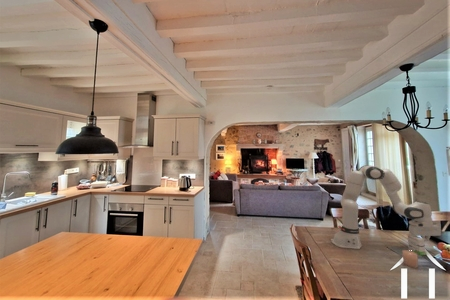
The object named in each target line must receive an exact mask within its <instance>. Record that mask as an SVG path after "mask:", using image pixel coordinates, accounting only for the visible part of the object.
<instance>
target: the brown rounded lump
mask: <svg viewBox="0 0 450 300" xmlns="http://www.w3.org/2000/svg"><path fill="white" fill-rule="evenodd" d="M402 252H403V256H402V260H403V261H402V262H403V264H404V265H405V266H407V267H410V268H415V269H416V268H419V263H418V259H419V258H417V253H415V252H413V251H411V250H410V251H409V249H408V250H403V251H402Z"/></svg>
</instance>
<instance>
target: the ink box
mask: <svg viewBox="0 0 450 300" xmlns="http://www.w3.org/2000/svg"><path fill="white" fill-rule="evenodd" d="M425 242H426V241H424V239H422V237H421V236H420V237H419V236H414V235H411V234H407V244H408V245H407V246H408V247H407V248H408V250H410V251H411V250H412V252H415V253H416V254H418V255H420V256H427V251H426V243H425Z"/></svg>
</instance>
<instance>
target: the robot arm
mask: <svg viewBox="0 0 450 300" xmlns="http://www.w3.org/2000/svg"><path fill="white" fill-rule="evenodd" d="M367 179H368V180H374V181H375V180H379V182H380V184H381V185H382V186H383V188H384V190H385V192H386V194H387V197H388V199H389V200H390V202H391V205H392V209H393V211H394V212H395V214H398V215H401V216H403V217H405V218H407V219H411V220H409V221H408V224H409V225H408V232H409V235H414V236H418V237H419V236H420V238H422V239H424V241H425V242H430V238H431V236H432V237H434V236H439V237H440V236H441V235H442V232H441V229H440V228H441V227H440V224H439V223H437V222H433V218H432V216H433V215H432V207H431V205H430V204H429V203H427V202H424V201H419V200H416V201H414V202H413V203H410V204H406V203H405V202H403V201H402V200H401V198H400V196H399V194H398V192H399V191H401V189H402V184H401V182H400V180H399V178H398V177H397V176H396V175H395V173H394V172H393V171H392V170H391V169H389V168H382V169H381V168H380V167H377V166H374V165H368V164H367V165H362V166H360V168H359V169H357V170H352V171H351V172H350V174H349V175H348V178H347V181H346V185H345V189H344V191H343V194H342V196H341V198H340V205H341V208H342V215H341V217H342V220H341V221H342V225H338V227H337V228H338V229H340V230H339V231H337V232H336V233H334V235H333V238H330V242H331V243H332V244H333V245H334V246H336V247H338V248H344V249H355V250H360V249H361V248H362V247H363V245H362V243H361V238H360V228H359V222H358V221H359V219H358V216H359V205H358V203H357V200H358V198H359V196H360V195H361V193H362V189H363V185H364V182H365V181H366V180H367Z"/></svg>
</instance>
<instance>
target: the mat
mask: <svg viewBox="0 0 450 300" xmlns="http://www.w3.org/2000/svg"><path fill="white" fill-rule="evenodd" d="M386 248H387V249H389V250H391V251H392V252H394V253H396V254H398V255H399V256H401V257H403V252H402V251H403V250H409V248H406V247H404V246H386ZM416 254H417V253H416ZM417 259H425V257H424V256H423V255H419V254H417Z"/></svg>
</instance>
